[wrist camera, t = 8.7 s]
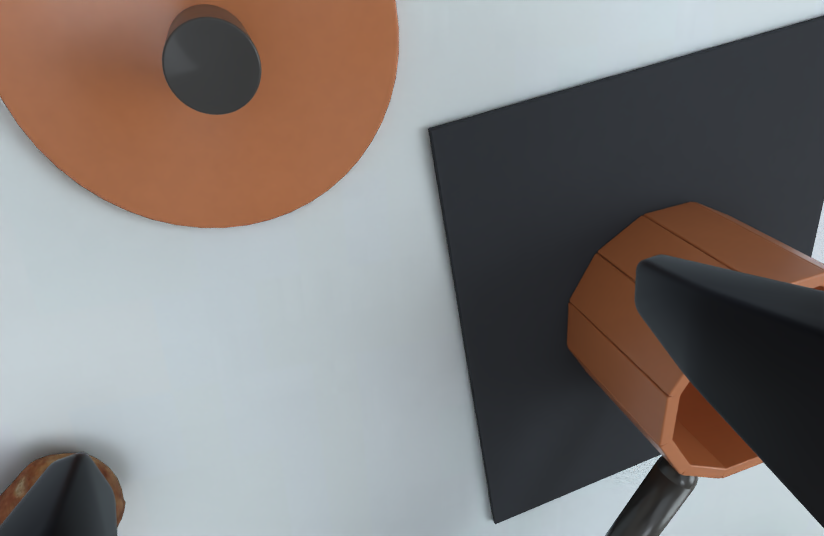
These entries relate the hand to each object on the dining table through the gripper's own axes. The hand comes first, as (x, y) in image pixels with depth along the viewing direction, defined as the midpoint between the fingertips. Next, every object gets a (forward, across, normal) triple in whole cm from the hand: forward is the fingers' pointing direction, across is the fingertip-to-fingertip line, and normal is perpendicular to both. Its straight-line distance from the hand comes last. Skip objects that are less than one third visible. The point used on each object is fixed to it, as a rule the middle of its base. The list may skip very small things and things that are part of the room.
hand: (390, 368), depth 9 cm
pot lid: (+13, +1, -3) cm, 14 cm away
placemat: (+13, -15, +13) cm, 24 cm away
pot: (+13, -13, +17) cm, 25 cm away
